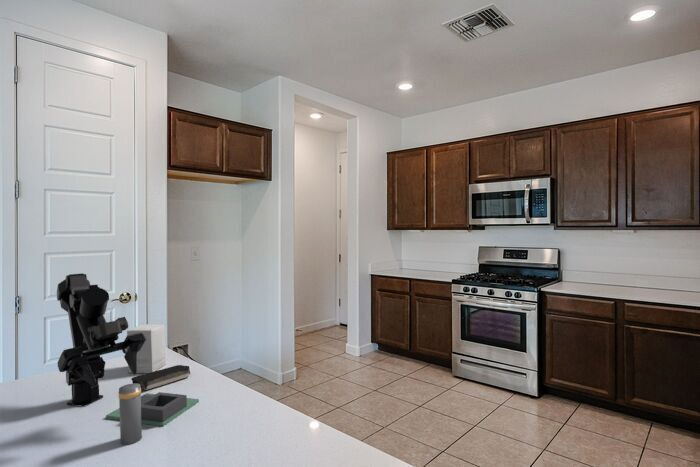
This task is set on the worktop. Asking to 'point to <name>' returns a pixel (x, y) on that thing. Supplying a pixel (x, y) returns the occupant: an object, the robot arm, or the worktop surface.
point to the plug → (130, 413)
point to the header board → (160, 408)
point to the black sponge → (161, 377)
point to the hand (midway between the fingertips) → (116, 379)
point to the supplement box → (150, 347)
